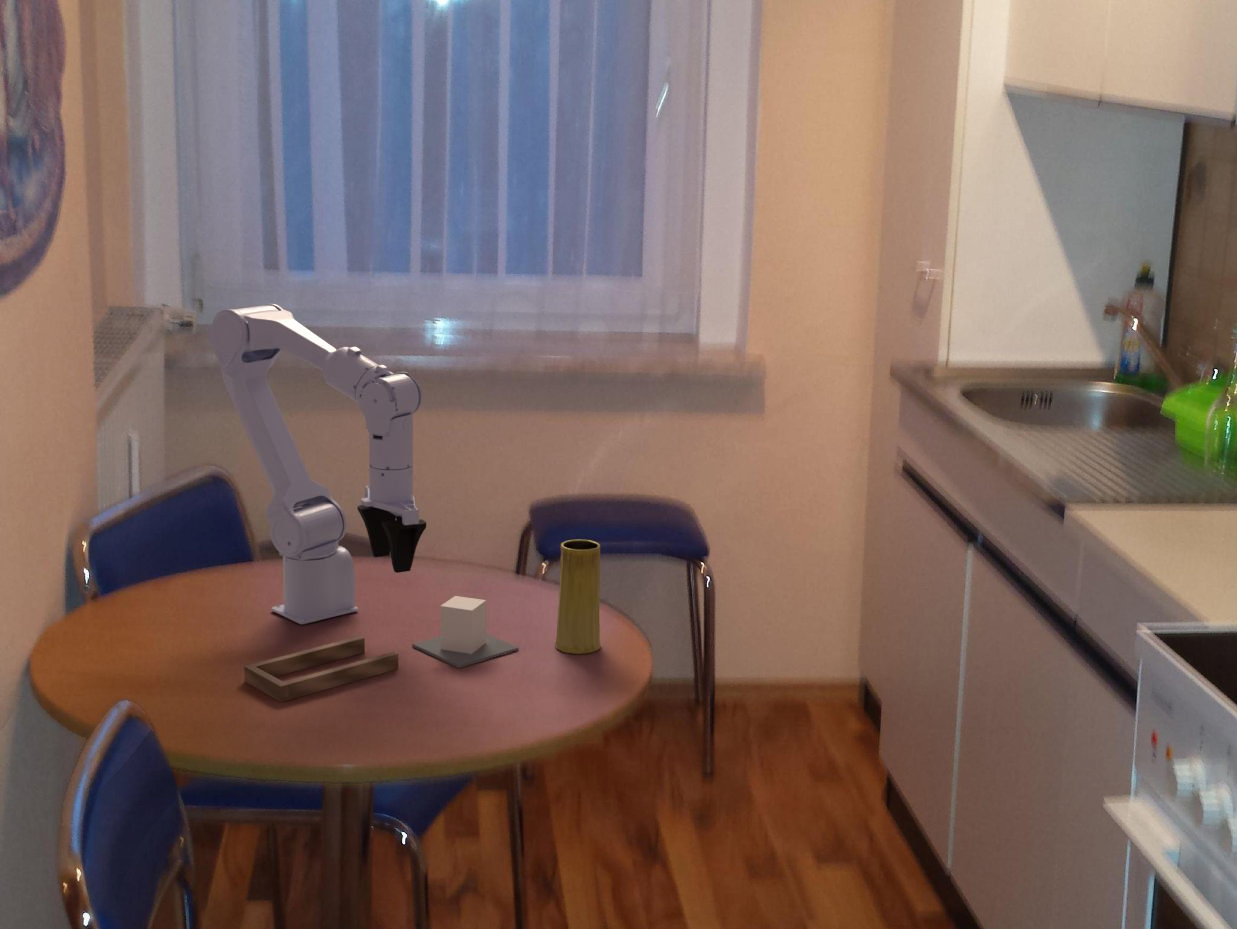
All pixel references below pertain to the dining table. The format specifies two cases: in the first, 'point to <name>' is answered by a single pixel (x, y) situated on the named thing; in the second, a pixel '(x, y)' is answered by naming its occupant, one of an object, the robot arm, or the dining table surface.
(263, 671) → the walnut channel
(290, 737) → the dining table surface
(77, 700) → the dining table surface
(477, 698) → the dining table surface
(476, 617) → the white block
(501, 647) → the slate mat
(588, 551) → the vase
